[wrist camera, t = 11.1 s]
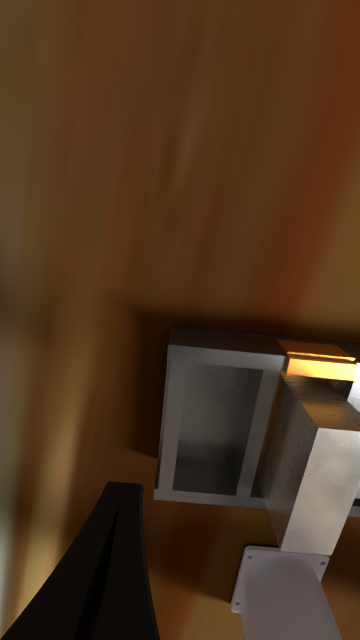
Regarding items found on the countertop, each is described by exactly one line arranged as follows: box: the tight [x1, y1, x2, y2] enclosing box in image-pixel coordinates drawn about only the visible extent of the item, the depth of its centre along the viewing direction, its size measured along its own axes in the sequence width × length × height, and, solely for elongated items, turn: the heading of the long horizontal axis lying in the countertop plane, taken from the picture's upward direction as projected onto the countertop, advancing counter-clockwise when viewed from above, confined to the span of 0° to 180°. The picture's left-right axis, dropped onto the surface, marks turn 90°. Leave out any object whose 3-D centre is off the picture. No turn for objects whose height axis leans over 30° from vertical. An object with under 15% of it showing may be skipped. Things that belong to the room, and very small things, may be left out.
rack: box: [154, 325, 360, 517], centre depth 18 cm, size 12×18×4 cm
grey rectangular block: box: [256, 371, 360, 555], centre depth 16 cm, size 8×3×6 cm, turn 174°
